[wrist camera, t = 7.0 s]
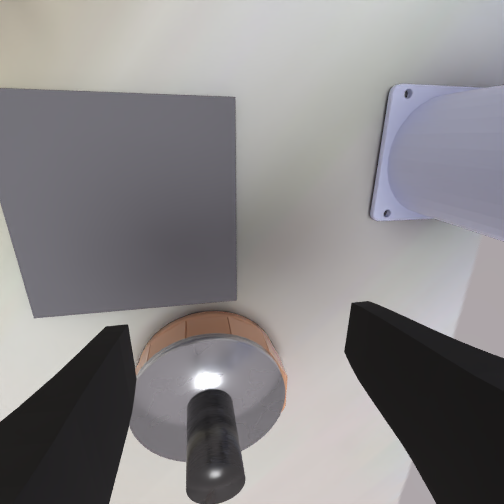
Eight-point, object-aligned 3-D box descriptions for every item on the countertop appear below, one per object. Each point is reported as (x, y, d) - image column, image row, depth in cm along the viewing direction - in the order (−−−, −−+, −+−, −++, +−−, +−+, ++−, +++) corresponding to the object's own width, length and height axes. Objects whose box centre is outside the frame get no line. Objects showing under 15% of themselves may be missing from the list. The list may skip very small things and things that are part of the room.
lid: (260, 310, 18) (287, 377, 13) (295, 418, 21) (327, 501, 16) (100, 368, 17) (64, 462, 12) (165, 469, 21) (158, 571, 16)
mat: (233, 98, 16) (235, 97, 15) (235, 295, 20) (236, 300, 20) (-25, 88, 14) (-34, 86, 13) (38, 312, 18) (34, 318, 18)
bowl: (277, 304, 21) (290, 329, 18) (272, 409, 25) (282, 443, 22) (128, 318, 19) (118, 348, 17) (146, 429, 23) (140, 469, 20)
